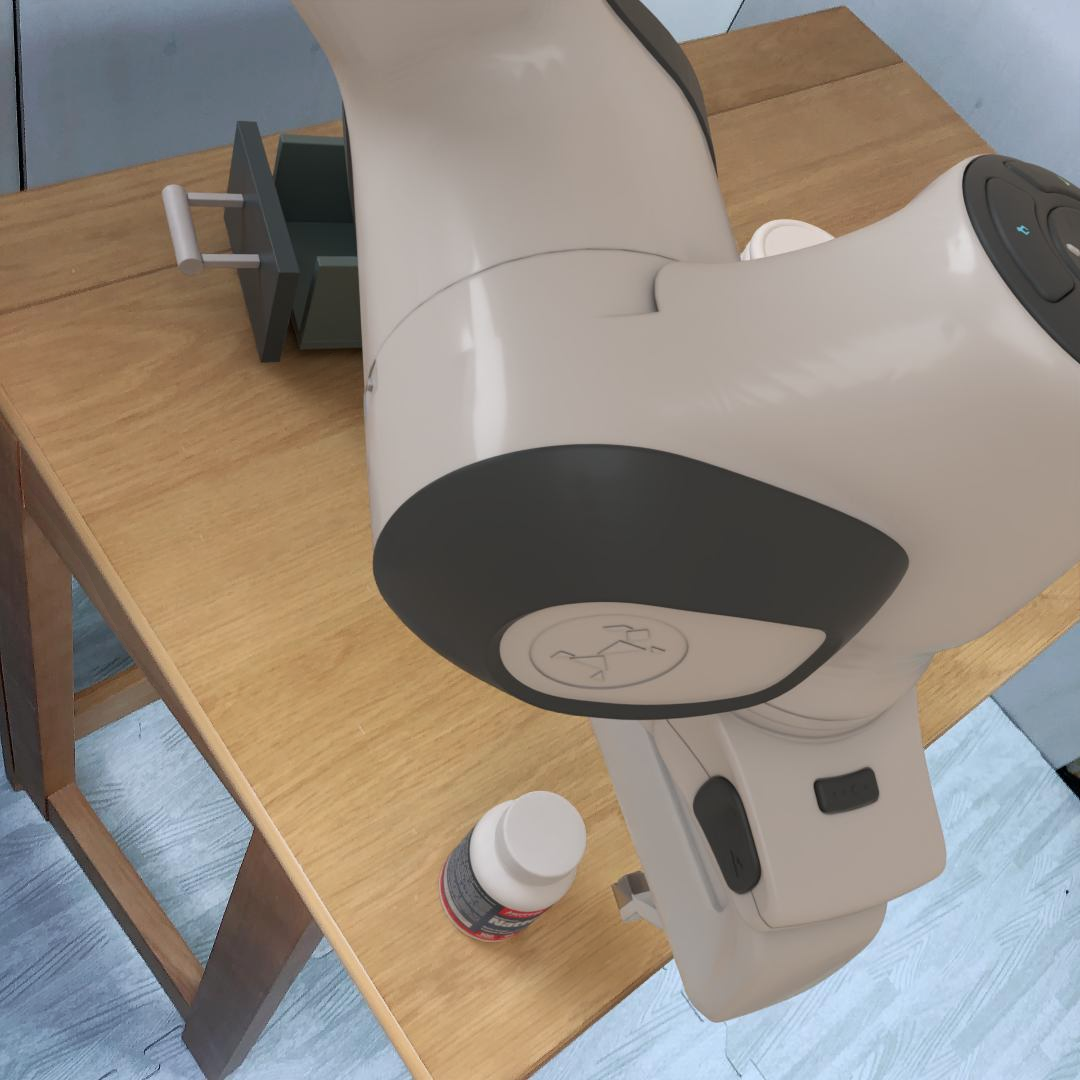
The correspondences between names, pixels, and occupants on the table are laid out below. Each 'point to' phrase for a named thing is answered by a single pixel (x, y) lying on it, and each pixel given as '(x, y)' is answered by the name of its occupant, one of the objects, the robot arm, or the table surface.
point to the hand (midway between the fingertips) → (593, 787)
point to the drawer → (283, 240)
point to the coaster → (783, 238)
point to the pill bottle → (512, 866)
